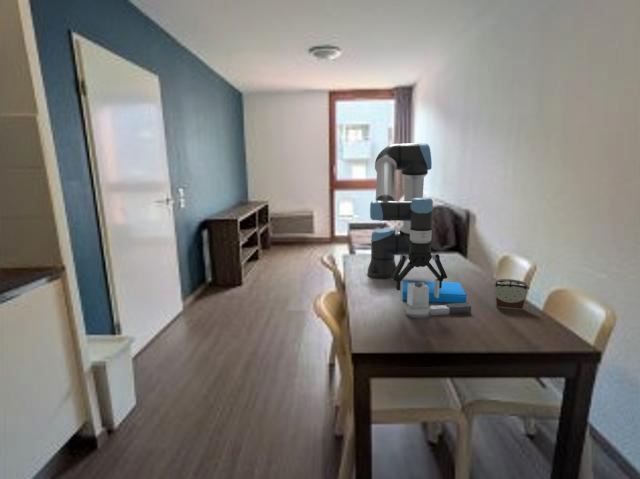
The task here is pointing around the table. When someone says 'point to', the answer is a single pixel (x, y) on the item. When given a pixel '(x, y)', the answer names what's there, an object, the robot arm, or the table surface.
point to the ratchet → (439, 310)
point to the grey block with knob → (418, 295)
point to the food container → (510, 293)
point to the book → (441, 292)
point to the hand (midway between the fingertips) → (418, 297)
